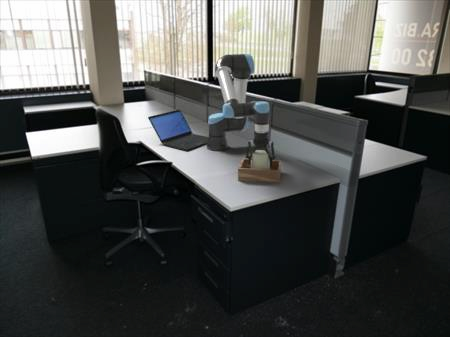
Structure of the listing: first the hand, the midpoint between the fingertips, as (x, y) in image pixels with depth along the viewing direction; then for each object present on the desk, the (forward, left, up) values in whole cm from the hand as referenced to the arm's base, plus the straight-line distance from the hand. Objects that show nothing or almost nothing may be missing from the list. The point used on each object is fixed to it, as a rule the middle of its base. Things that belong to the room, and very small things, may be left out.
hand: (260, 170), depth 194 cm
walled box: (0, 0, -3) cm, 3 cm away
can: (0, 0, -1) cm, 1 cm away
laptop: (-57, -62, -4) cm, 84 cm away
